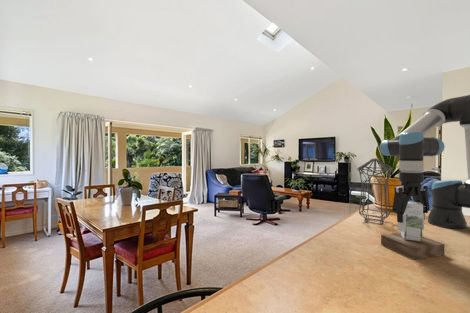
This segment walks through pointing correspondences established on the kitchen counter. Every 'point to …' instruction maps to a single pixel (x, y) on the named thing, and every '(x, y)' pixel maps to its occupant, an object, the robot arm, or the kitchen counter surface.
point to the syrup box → (413, 221)
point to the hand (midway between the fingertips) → (411, 229)
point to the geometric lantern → (374, 184)
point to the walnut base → (412, 246)
